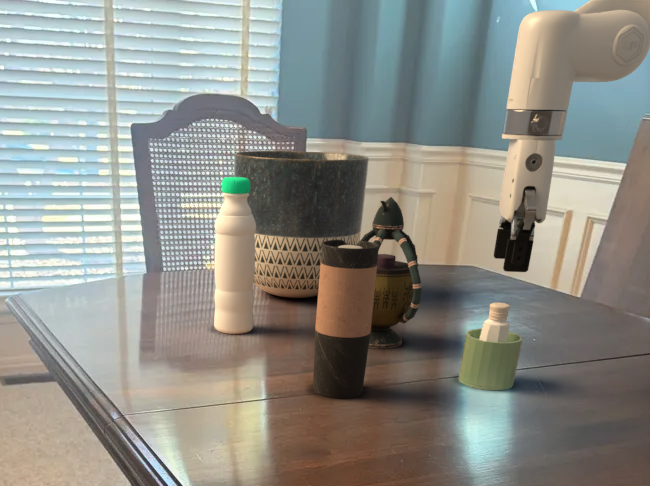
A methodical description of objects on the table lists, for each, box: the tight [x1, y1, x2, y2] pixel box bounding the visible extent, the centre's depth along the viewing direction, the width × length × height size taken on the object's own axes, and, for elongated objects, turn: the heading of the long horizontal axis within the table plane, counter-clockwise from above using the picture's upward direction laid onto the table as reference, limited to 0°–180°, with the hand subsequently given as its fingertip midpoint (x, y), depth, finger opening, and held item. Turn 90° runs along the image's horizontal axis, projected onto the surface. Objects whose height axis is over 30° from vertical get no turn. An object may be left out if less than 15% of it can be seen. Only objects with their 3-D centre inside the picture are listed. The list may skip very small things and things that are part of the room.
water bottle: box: [213, 176, 256, 335], centre depth 133 cm, size 7×7×25 cm
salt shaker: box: [479, 301, 511, 342], centre depth 113 cm, size 5×5×11 cm
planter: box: [233, 150, 369, 299], centre depth 159 cm, size 27×27×27 cm
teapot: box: [357, 196, 422, 349], centre depth 132 cm, size 12×25×23 cm, turn 179°
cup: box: [458, 328, 524, 391], centre depth 115 cm, size 8×8×7 cm
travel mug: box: [312, 240, 380, 399], centre depth 106 cm, size 8×8×20 cm
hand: (509, 264), depth 108 cm, fingers open, 9 cm apart
